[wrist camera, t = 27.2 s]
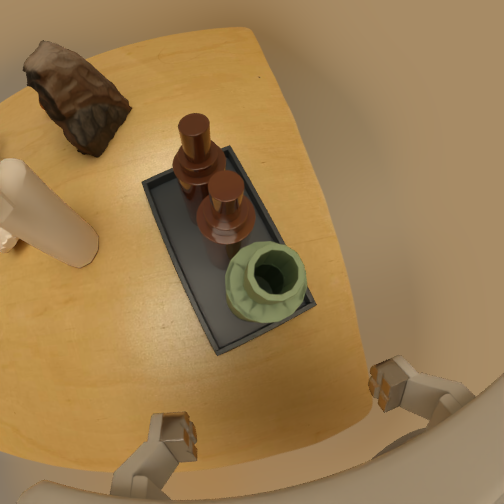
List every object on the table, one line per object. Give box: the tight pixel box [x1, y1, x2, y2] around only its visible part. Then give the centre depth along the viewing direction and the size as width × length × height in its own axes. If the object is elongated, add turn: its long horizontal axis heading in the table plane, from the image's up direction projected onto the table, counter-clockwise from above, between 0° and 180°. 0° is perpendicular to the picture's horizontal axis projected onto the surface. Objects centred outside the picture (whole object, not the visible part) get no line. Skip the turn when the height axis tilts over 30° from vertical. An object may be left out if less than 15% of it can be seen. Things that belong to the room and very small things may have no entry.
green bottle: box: [225, 241, 307, 323], centre depth 25 cm, size 6×6×18 cm
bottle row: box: [173, 113, 256, 270], centre depth 27 cm, size 11×5×18 cm, turn 27°
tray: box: [142, 145, 317, 356], centre depth 34 cm, size 24×13×3 cm, turn 27°
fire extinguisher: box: [0, 158, 98, 268], centre depth 22 cm, size 7×12×25 cm, turn 47°
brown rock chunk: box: [23, 40, 132, 157], centre depth 29 cm, size 13×13×20 cm
